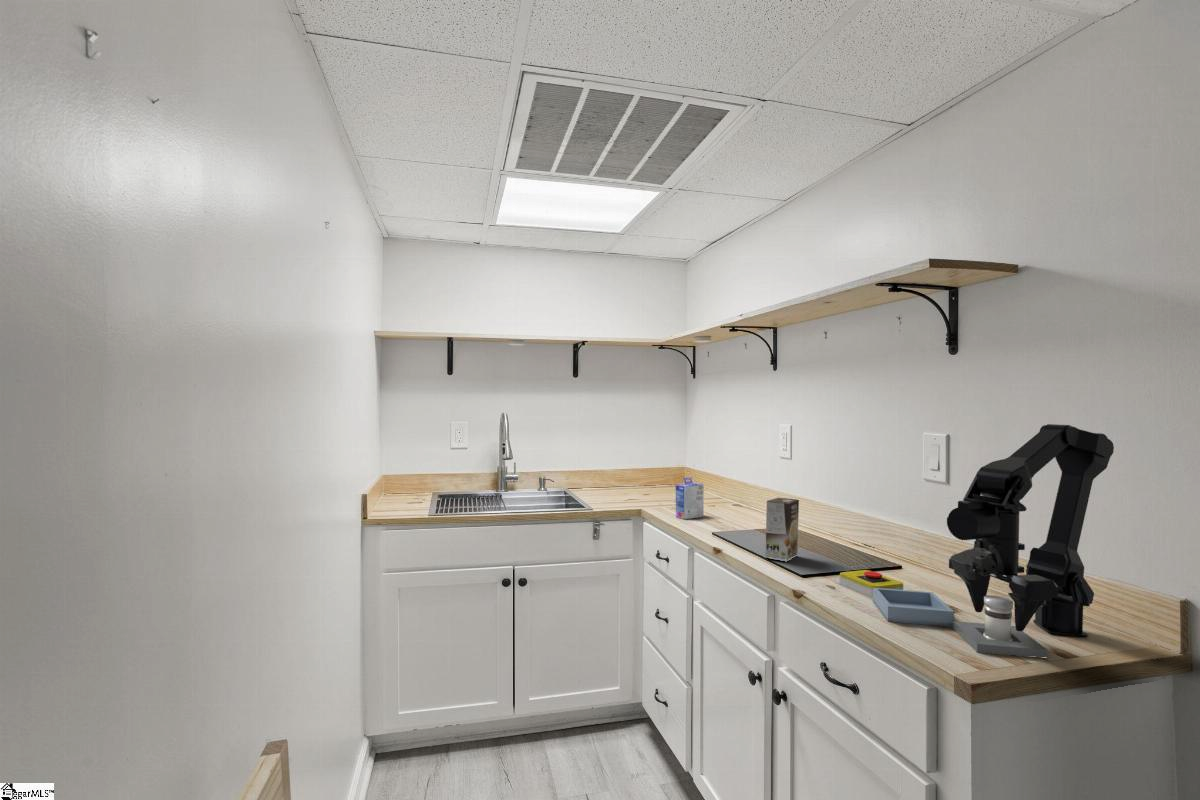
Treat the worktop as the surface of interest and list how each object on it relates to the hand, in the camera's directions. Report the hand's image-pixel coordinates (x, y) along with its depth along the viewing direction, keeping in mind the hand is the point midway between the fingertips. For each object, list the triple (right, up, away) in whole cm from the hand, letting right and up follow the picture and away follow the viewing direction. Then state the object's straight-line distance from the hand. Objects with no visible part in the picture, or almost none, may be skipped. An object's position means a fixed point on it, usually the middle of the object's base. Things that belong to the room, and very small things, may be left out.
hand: (998, 621), depth 108 cm
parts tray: (-8, -4, +14) cm, 17 cm away
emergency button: (-10, -5, +30) cm, 32 cm away
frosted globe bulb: (0, -4, 0) cm, 4 cm away
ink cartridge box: (-40, -3, +111) cm, 118 cm away
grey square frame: (0, -4, 0) cm, 4 cm away
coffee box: (-22, -4, +56) cm, 61 cm away
